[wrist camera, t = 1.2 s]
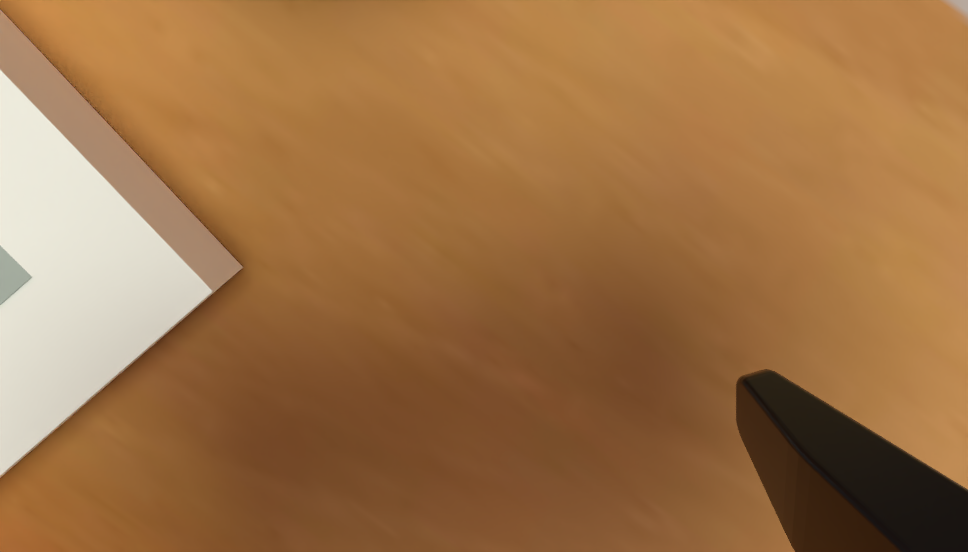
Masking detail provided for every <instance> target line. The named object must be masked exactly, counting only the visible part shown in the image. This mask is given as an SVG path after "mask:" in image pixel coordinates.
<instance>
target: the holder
mask: <svg viewBox="0 0 968 552" xmlns="http://www.w3.org/2000/svg"><path fill="white" fill-rule="evenodd" d="M242 268H243V267H242V265H241V264H240V263H239V262H238V261H237V260H236V259H235V258H234V257H233V256H232V255H231V254H230V253H229V252H228V251H227V250H226V248H225V247H224V246H223V245H222V244H221V243H220V242H219V241H218V240H217V239H216V238H215V237H214V236H213V235H212V234H211V233H210V232H209V230H208V229H207V228H206V227H205V226H204V225H203V224H202V223H201V222H200V221H199V220H198V219H197V218H196V217H195V216H194V215H193V213H192V212H191V211H190V210H189V209H188V208H187V207H186V206H185V205H184V204H183V203H182V202H181V201H180V200H179V199H178V198H177V196H176V195H175V194H174V193H173V192H172V191H171V190H170V189H169V188H168V187H167V186H166V185H165V184H164V183H163V182H162V181H161V179H160V178H159V177H158V176H157V175H156V174H155V173H154V172H153V171H152V170H151V169H150V168H149V167H148V166H147V165H146V164H145V162H144V161H143V160H142V159H141V158H140V157H139V156H138V155H137V154H136V153H135V152H134V151H133V150H132V149H131V148H130V147H129V145H128V144H127V143H126V142H125V141H124V140H123V139H122V138H121V137H120V136H119V135H118V134H117V133H116V132H115V131H114V130H113V128H112V127H111V126H110V125H109V124H108V123H107V122H106V121H105V120H104V119H103V118H102V117H101V116H100V115H99V114H98V113H97V111H96V110H95V109H94V108H93V107H92V106H91V105H90V104H89V103H88V102H87V101H86V100H85V99H84V98H83V97H82V96H81V94H80V93H79V92H78V91H77V90H76V89H75V88H74V87H73V86H72V85H71V84H70V83H69V82H68V81H67V80H66V79H65V77H64V76H63V75H62V74H61V73H60V72H59V71H58V70H57V69H56V68H55V67H54V66H53V65H52V64H51V63H50V62H49V60H48V59H47V58H46V57H45V56H44V55H43V54H42V53H41V52H40V51H39V50H38V49H37V48H36V47H35V46H34V45H33V43H32V42H31V41H30V40H29V39H28V38H27V37H26V36H25V35H24V34H23V33H22V32H21V31H20V30H19V29H18V28H17V26H16V25H15V24H14V23H13V22H12V21H11V20H10V19H9V18H8V17H7V16H6V15H5V14H4V13H3V12H2V11H1V9H0V478H1V477H2V476H3V475H4V474H5V473H6V472H7V471H9V470H10V469H11V468H12V467H13V466H14V465H16V464H17V463H18V462H19V461H20V460H21V459H22V458H24V457H25V456H26V455H27V454H28V453H29V452H31V451H32V450H33V449H34V448H35V447H36V446H37V445H39V444H40V443H41V442H42V441H43V440H44V439H46V438H47V437H48V436H49V435H50V434H51V433H52V432H54V431H55V430H56V429H57V428H58V427H59V426H61V425H62V424H63V423H64V422H65V421H66V420H67V419H69V418H70V417H71V416H72V415H73V414H74V413H76V412H77V411H78V410H79V409H80V408H81V407H83V406H84V405H85V404H86V403H87V402H88V401H89V400H91V399H92V398H93V397H94V396H95V395H96V394H98V393H99V392H100V391H101V390H102V389H103V388H104V387H106V386H107V385H108V384H109V383H110V382H111V381H113V380H114V379H115V378H116V377H117V376H118V375H119V374H121V373H122V372H123V371H124V370H125V369H126V368H128V367H129V366H130V365H131V364H132V363H133V362H134V361H136V360H137V359H138V358H139V357H140V356H141V355H143V354H144V353H145V352H146V351H147V350H148V349H149V348H151V347H152V346H153V345H154V344H155V343H156V342H158V341H159V340H160V339H161V338H162V337H163V336H165V335H166V334H167V333H168V332H169V331H170V330H171V329H173V328H174V327H175V326H176V325H177V324H178V323H180V322H181V321H182V320H183V319H184V318H185V317H186V316H188V315H189V314H190V313H191V312H192V311H193V310H195V309H196V308H197V307H198V306H199V305H200V304H201V303H203V302H204V301H205V300H206V299H207V298H208V297H210V296H211V295H212V294H213V293H214V292H215V291H216V290H218V289H219V288H220V287H221V286H222V285H223V284H225V283H226V282H227V281H228V280H229V279H230V278H231V277H233V276H234V275H235V274H236V273H237V272H238V271H240V270H241V269H242Z"/></svg>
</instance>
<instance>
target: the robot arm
mask: <svg viewBox="0 0 968 552" xmlns="http://www.w3.org/2000/svg"><path fill="white" fill-rule="evenodd" d="M736 421H737V426H738V430H739V433H740V436H741V438H742V440H743V443H744V445H745V447H746V449H747V451H748V453H749V455H750V458H751V460H752V462H753V464H754V466H755V468H756V471H757V473H758V475H759V477H760V479H761V481H762V484H763V486H764V488H765V490H766V492H767V494H768V496H769V499H770V501H771V503H772V505H773V507H774V509H775V512H776V514H777V516H778V518H779V520H780V522H781V525H782V527H783V529H784V531H785V533H786V535H787V537H788V539H789V541H790V543H791V545H792V547H793V549H794V550H795V552H968V490H967V489H966V488H964V487H963V486H961V485H959V484H958V483H956V482H954V481H953V480H951V479H949V478H948V477H946V476H945V475H943V474H941V473H940V472H938V471H936V470H935V469H933V468H932V467H930V466H928V465H927V464H925V463H923V462H922V461H920V460H918V459H917V458H915V457H914V456H912V455H910V454H909V453H907V452H905V451H904V450H902V449H901V448H899V447H897V446H896V445H894V444H892V443H891V442H889V441H887V440H886V439H884V438H883V437H881V436H879V435H878V434H876V433H874V432H873V431H871V430H870V429H868V428H866V427H865V426H863V425H861V424H860V423H858V422H856V421H855V420H853V419H852V418H850V417H848V416H847V415H845V414H843V413H842V412H840V411H839V410H837V409H835V408H834V407H832V406H830V405H829V404H827V403H825V402H824V401H822V400H821V399H819V398H817V397H816V396H814V395H812V394H811V393H809V392H808V391H806V390H804V389H803V388H801V387H799V386H798V385H796V384H794V383H793V382H791V381H790V380H788V379H786V378H785V377H783V376H781V375H780V374H778V373H777V372H775V371H772V370H768V369H766V370H761V371H757V372H754V373H750V374H747V375H744V376H741V377H740V378H739V379H738V381H737V384H736Z"/></svg>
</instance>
